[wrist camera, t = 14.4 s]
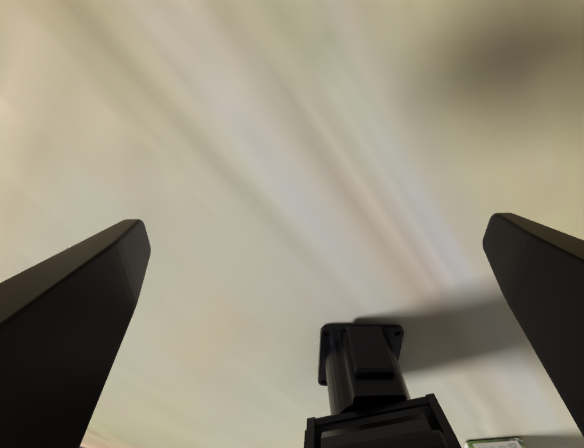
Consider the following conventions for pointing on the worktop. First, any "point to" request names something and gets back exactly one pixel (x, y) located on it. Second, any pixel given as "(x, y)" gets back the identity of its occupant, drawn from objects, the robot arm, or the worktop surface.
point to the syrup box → (497, 443)
